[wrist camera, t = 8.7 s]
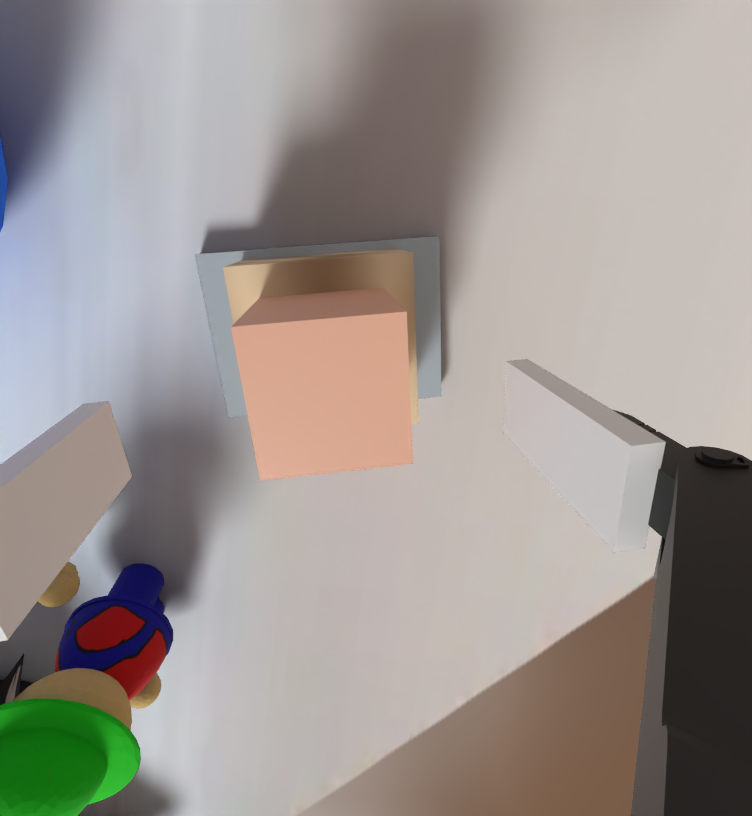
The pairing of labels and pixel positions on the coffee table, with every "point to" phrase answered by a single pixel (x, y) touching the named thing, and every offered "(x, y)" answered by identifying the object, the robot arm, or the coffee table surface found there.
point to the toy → (84, 699)
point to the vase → (2, 185)
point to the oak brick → (329, 285)
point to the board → (422, 248)
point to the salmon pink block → (326, 382)
